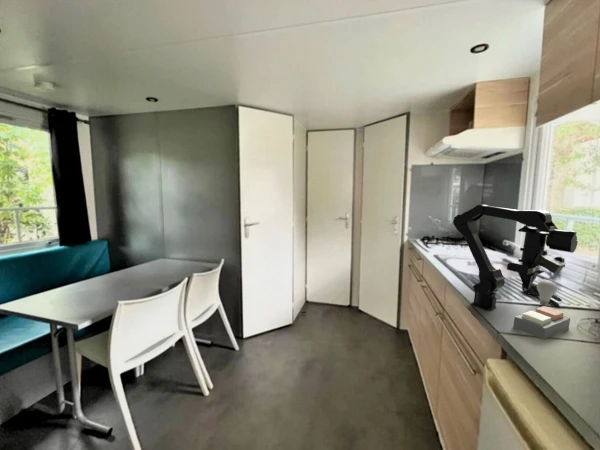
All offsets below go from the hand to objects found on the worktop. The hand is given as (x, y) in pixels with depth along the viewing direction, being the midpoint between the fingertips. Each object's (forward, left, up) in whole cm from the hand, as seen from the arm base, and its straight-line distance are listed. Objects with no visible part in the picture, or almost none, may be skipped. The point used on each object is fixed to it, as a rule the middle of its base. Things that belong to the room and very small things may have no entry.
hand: (526, 288), depth 100 cm
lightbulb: (-3, +23, -12) cm, 26 cm away
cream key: (+6, -5, -11) cm, 13 cm away
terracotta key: (+6, +4, -11) cm, 13 cm away
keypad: (+6, 0, -12) cm, 13 cm away
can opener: (-8, +32, -12) cm, 35 cm away
